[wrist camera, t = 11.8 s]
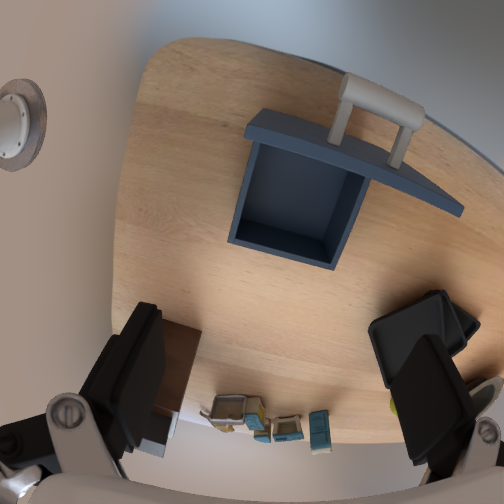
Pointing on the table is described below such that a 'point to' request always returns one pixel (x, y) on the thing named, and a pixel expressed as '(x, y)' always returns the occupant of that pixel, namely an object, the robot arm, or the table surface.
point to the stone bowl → (485, 392)
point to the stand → (176, 369)
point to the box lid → (357, 140)
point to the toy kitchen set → (287, 427)
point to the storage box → (296, 206)
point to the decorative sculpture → (227, 412)
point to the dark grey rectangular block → (156, 434)
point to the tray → (419, 330)
